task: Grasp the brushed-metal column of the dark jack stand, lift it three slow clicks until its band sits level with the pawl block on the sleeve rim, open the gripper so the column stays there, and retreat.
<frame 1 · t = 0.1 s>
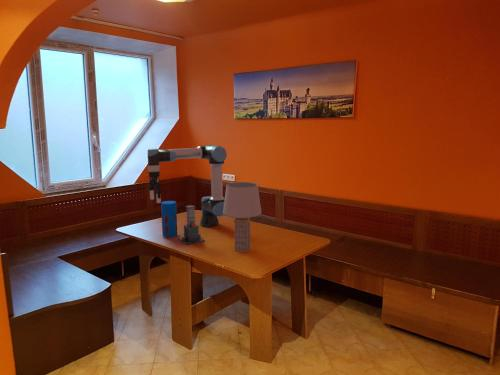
hand: (155, 201, 275), 28 cm above the table, fingers open, 13 cm apart
thermos: (170, 235, 289), on the table
lamp: (242, 249, 257), on the table
column: (191, 222, 274), point 13 cm above the table, slide at 1.9 cm
stand base: (191, 240, 276), on the table
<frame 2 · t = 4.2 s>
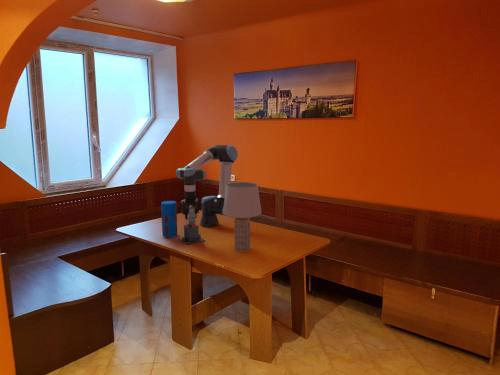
hand: (191, 223, 274), 13 cm above the table, fingers closed on column, 4 cm apart
column: (191, 222, 274), point 13 cm above the table, slide at 1.9 cm, touching gripper
everything else where it was.
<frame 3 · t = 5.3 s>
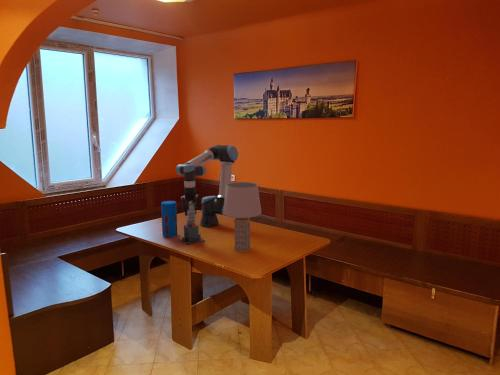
hand: (190, 219, 274), 15 cm above the table, fingers closed on column, 4 cm apart
column: (190, 218, 274), point 16 cm above the table, slide at 4.6 cm, touching gripper
everything else where it was.
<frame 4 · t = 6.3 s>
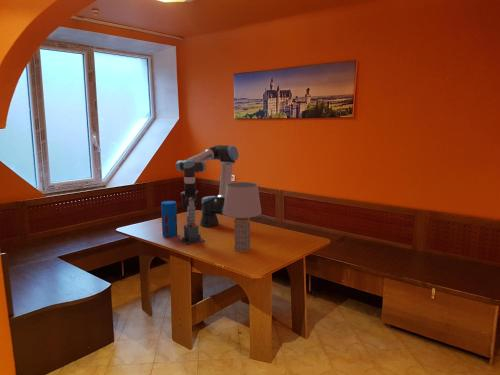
hand: (190, 215, 273), 18 cm above the table, fingers closed on column, 4 cm apart
column: (190, 214, 273), point 19 cm above the table, slide at 7.4 cm, touching gripper
everything else where it was.
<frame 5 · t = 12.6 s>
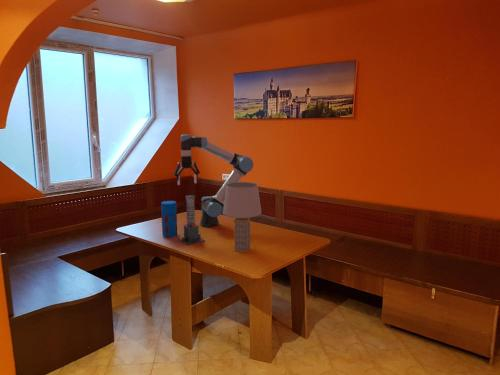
hand: (187, 184, 292), 37 cm above the table, fingers open, 13 cm apart
column: (190, 212, 273), point 21 cm above the table, slide at 9.1 cm
everything else where it was.
at the end: column slide at 9.1 cm; the gripper is holding nothing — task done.
